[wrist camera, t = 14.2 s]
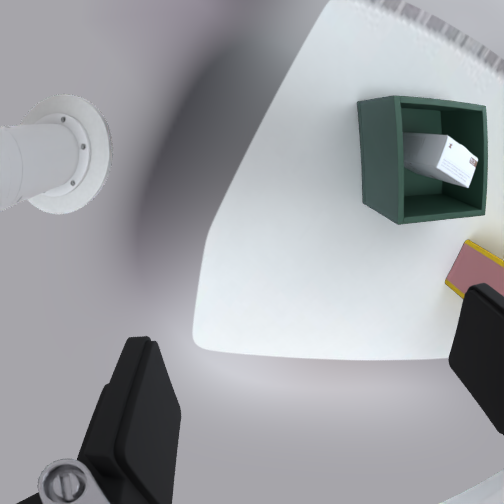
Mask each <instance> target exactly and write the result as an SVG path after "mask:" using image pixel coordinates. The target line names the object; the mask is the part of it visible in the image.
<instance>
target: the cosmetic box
mask: <svg viewBox="0 0 504 504" xmlns="http://www.w3.org/2000/svg"><path fill="white" fill-rule="evenodd" d="M403 154H404V167H405V168H407V169H409V170H410V171H412V172H414V173H416V174H419V175H423V176H427V177H431V178H434V179H438V180H441V181H445V182H448V183H452V184H455V185H459V186H463V187H466V188H469V185H470V183H471V180H472V177H473V174H474V171H475V168H476V165H477V162H478V158H477V157H475V156H474V155H473V154H472V153H470V152H469V151H468V150H467V149H466V148H465V147H464V146H463V145H461V144H459V143H458V142H456V141H455V140H453V139H452V138H451V137H449V136H448V135H438V134H424V133H409V132H403Z"/></svg>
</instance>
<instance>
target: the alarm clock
mask: <svg viewBox="0 0 504 504" xmlns="http://www.w3.org/2000/svg"><path fill="white" fill-rule="evenodd" d="M480 283H486V284H488V285H489V286H491V287H492V288H493V289H495V290H496V291H497V292H498V293H500V294H501V295H502V296H504V261H503V260H501V259H500V258H498V257H496V256H495V255H493V254H492V253H490V252H488V251H487V250H485V249H483V248H482V247H480V246H478V245H477V244H475V243H473V242H471V241H470V240H466V241H465V243H464V245H463V247H462V249H461V251H460V253H459V255H458V257H457V259H456V261H455V263H454V265H453V267H452V269H451V271H450V272H449V274H448V276H447V278H446V280H445V284H446V285H447V286H449V287H450V288H451V289H452V290H453V291H454V292H456V293H457V294H458V295H459V296H460V297H461V298H462V299H464V295H465V293H466V292H467V290H468V288H469V287H470V286H472V285H476V284H480Z"/></svg>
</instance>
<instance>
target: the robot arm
mask: <svg viewBox="0 0 504 504" xmlns="http://www.w3.org/2000/svg"><path fill="white" fill-rule="evenodd" d="M65 118H66V121H65ZM85 145H86V148H85ZM90 161H91V144H90V140H89V136H88V134H87V132H86V130H85V128H84V126H83V125H82V124H81V123H80V122H79V121H78V120H77V119H76V118H74V117H72V116H70V115H68V114H64V113H54V114H49V115H46V116H44V117H42V118H41V119H39V120H38V121H37V122H36V123H35V124H28V125H12V126H0V212H1V211H3V210H5V209H7V208H9V207H12V206H14V205H16V204H18V203H20V202H23V201H25V200H27V199H29V198H32V197H34V196H36V195H39V194H42V195H45V196H47V197H60V196H63V195H66V194H68V193H70V192H72V191H73V190H74V189H76V188H77V187H78V186H79V185H80V184H81V182H82V181H83V179H84V178H85V176H86V174H87V172H88V169H89V166H90ZM74 181H75V183H74ZM449 365H450V367H451V369H452V370H453V371H454V372H455V374H456V375H457V376H458V378H460V380H461V381H462V383H463V384H464V385H465V387H466V388H467V389H468V391H469V392H470V393H471V394H472V396H473V397H474V399H475V400H476V401H477V403H478V404H479V405H480V407H481V408H482V409H483V411H484V412H485V414H486V415H487V416H488V418H489V419H490V421H491V422H492V423H493V425H494V426H495V428H496V429H497V431H498V432H499V433H501V434H503V435H504V296H502V295H501V294H500V293H498V292H497V291H496V290H495V289H493V288H492V287H491V286H489V285H488V284H486V283H480V284H476V285H472V286H470V287H469V288H468V290H467V292H466V293H465V295H464V299H463V304H462V308H461V313H460V317H459V321H458V325H457V329H456V333H455V337H454V341H453V344H452V348H451V352H450V355H449ZM180 421H181V410H180V406H179V403H178V400H177V398H176V395H175V393H174V390H173V387H172V384H171V382H170V379H169V376H168V373H167V370H166V367H165V364H164V361H163V358H162V355H161V352H160V349H159V346H158V343H157V342H156V341H151V339H150V338H149V337H147V336H144V337H129V338H128V339H127V341H126V343H125V346H124V348H123V350H122V353H121V355H120V358H119V360H118V363H117V365H116V367H115V370H114V372H113V375H112V378H111V380H110V383H109V384H106V385H105V386H104V388H103V390H102V392H101V395H100V398H99V400H98V403H97V405H96V408H95V411H94V413H93V416H92V419H91V421H90V424H89V427H88V429H87V432H86V435H85V438H84V441H83V443H82V446H81V449H80V452H79V455H78V458H77V460H74V459H60V460H57V461H54V462H53V463H51V464H50V465H48V466H47V467H46V468H45V469H44V470H43V471H42V473H41V475H40V477H39V480H38V491H39V492H38V493H36V494H35V495H32V496H30V497H29V498H27V499H25V500H23V501H21V502H19V503H17V504H172V496H173V485H174V475H175V465H176V456H177V447H178V439H179V430H180ZM439 504H504V469H503V470H502V471H500V472H498V473H497V474H495V475H493V476H492V477H490V478H488V479H487V480H485V481H483V482H481V483H479V484H478V485H476V486H474V487H472V488H470V489H468V490H466V491H464V492H462V493H460V494H458V495H456V496H454V497H452V498H450V499H448V500H446V501H443V502H441V503H439Z"/></svg>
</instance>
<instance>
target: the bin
mask: <svg viewBox="0 0 504 504" xmlns="http://www.w3.org/2000/svg"><path fill="white" fill-rule="evenodd" d="M357 107H358V118H359V130H360V145H361V163H362V190H363V204H365V205H367V206H368V207H370V208H372V209H373V210H375V211H377V212H378V213H380V214H382V215H383V216H385V217H386V218H388V219H390V220H391V221H393V222H394V223H396V224H398V225H399V224H408V223H417V222H426V221H436V220H445V219H454V218H463V217H473V216H482V215H485V209H486V195H487V172H488V137H487V115H486V106H483V105H477V104H470V103H463V102H456V101H448V100H440V99H431V98H420V97H408V96H388V97H382V98H376V99H370V100H364V101H359V102H357ZM403 132H409V133H424V134H438V135H448V136H449V137H451V138H452V139H453V140H455V141H456V142H458V143H459V144H461V145H463V146H464V147H465V148H466V149H467V150H468V151H469V152H470V153H472V154H473V155H474V156H475V157H477V158H478V162H477V165H476V168H475V171H474V174H473V177H472V180H471V183H470V185H469V188H466V187H463V186H459V185H455V184H452V183H448V182H445V181H441V180H438V179H434V178H431V177H427V176H423V175H419V174H416V173H414V172H412V171H410V170H409V169H407V168H405V167H404V154H403Z"/></svg>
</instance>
